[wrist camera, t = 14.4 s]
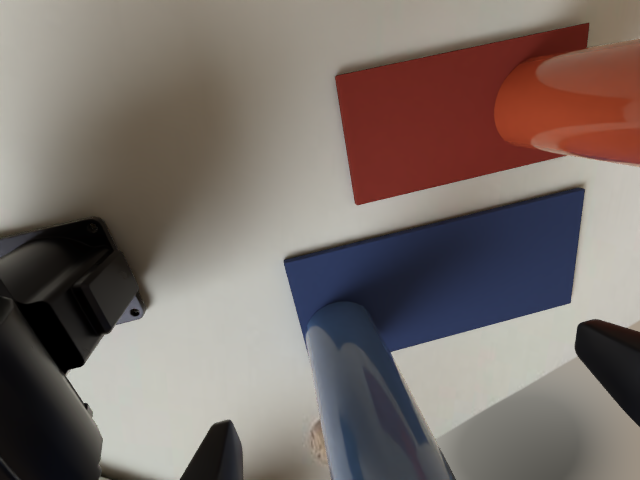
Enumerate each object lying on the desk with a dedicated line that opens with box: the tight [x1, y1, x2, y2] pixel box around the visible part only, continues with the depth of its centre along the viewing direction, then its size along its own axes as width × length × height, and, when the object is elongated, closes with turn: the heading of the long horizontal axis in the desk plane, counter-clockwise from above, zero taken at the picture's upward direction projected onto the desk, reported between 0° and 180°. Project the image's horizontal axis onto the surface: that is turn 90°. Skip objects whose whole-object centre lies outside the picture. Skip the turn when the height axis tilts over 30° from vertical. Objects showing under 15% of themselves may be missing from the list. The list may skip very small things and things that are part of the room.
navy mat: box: [284, 188, 585, 355], centre depth 23 cm, size 20×9×1 cm, turn 101°
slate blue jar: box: [305, 301, 456, 480], centre depth 17 cm, size 5×5×12 cm
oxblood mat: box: [335, 23, 589, 205], centre depth 19 cm, size 14×7×1 cm, turn 101°
